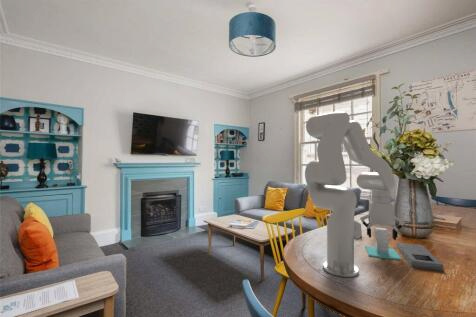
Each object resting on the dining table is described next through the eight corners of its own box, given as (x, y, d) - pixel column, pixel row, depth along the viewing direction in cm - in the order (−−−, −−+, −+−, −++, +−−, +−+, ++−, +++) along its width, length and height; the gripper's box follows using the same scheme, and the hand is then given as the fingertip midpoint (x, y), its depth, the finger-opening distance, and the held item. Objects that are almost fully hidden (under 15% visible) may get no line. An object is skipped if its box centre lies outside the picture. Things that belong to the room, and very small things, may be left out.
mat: (401, 260, 100) (401, 258, 100) (368, 256, 104) (368, 254, 104) (394, 250, 111) (394, 248, 111) (365, 246, 116) (365, 245, 116)
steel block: (388, 254, 105) (388, 231, 105) (377, 252, 106) (376, 230, 107) (386, 250, 109) (386, 228, 109) (375, 249, 111) (375, 227, 111)
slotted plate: (443, 271, 90) (443, 264, 90) (411, 267, 94) (411, 260, 94) (422, 250, 111) (422, 245, 111) (397, 247, 114) (397, 242, 114)
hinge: (328, 233, 137) (329, 215, 140) (330, 233, 141) (332, 216, 144) (360, 238, 127) (361, 219, 130) (362, 239, 131) (363, 221, 133)
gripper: (401, 199, 108) (402, 237, 108) (359, 197, 114) (359, 233, 114) (406, 202, 101) (407, 243, 101) (360, 200, 107) (361, 238, 107)
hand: (381, 237), depth 108 cm, fingers open, 9 cm apart
